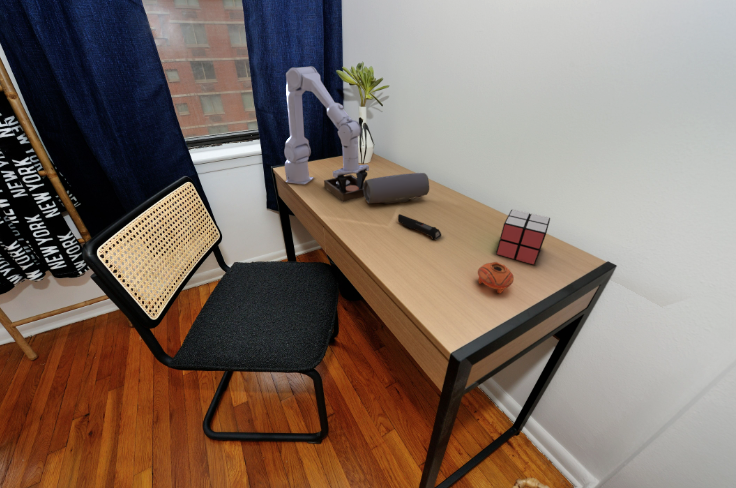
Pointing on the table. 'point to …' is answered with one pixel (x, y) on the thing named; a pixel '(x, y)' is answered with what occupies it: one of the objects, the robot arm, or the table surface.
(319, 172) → the table surface
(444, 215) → the table surface
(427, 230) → the electric trimmer
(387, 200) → the bluetooth speaker
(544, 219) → the puzzle cube
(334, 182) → the dark brown tray
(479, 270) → the pot
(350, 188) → the terracotta coaster
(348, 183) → the gray and black puck
